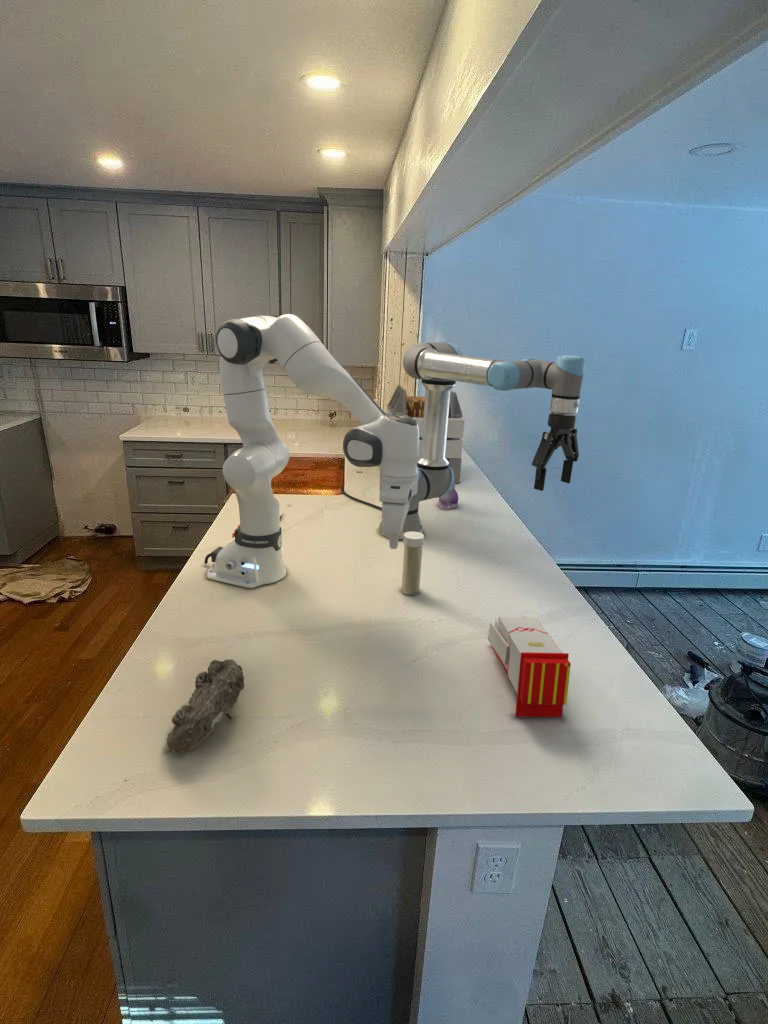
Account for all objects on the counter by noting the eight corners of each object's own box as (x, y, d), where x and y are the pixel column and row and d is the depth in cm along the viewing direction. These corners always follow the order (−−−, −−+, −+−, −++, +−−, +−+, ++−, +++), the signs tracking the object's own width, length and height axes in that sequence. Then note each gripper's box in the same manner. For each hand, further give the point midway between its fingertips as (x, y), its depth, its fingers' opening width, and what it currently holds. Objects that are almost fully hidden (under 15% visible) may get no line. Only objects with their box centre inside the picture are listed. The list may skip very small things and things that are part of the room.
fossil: (192, 660, 117) (244, 628, 112) (224, 691, 120) (276, 661, 115) (142, 746, 98) (202, 712, 93) (182, 779, 101) (242, 748, 96)
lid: (421, 539, 158) (421, 531, 157) (425, 547, 153) (426, 539, 152) (401, 539, 157) (402, 531, 156) (405, 547, 152) (405, 539, 151)
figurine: (444, 511, 224) (448, 474, 219) (431, 503, 232) (433, 468, 227) (464, 508, 228) (468, 472, 223) (450, 500, 237) (453, 466, 231)
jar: (417, 586, 163) (420, 533, 157) (420, 594, 158) (424, 540, 152) (400, 587, 162) (403, 533, 156) (403, 595, 157) (406, 540, 152)
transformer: (382, 463, 289) (386, 382, 275) (445, 464, 293) (451, 384, 279) (390, 482, 257) (394, 392, 243) (460, 483, 261) (468, 394, 247)
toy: (534, 602, 136) (579, 659, 107) (529, 653, 139) (572, 723, 110) (484, 601, 136) (516, 658, 107) (480, 652, 139) (510, 722, 109)
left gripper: (391, 472, 141) (389, 523, 146) (378, 496, 122) (376, 555, 127) (416, 474, 141) (414, 525, 145) (407, 499, 122) (404, 558, 126)
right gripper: (548, 419, 148) (537, 496, 155) (598, 411, 163) (586, 482, 171) (525, 414, 153) (515, 489, 160) (575, 407, 169) (564, 476, 176)
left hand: (396, 540), depth 136 cm, fingers open, 8 cm apart
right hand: (552, 485), depth 166 cm, fingers open, 13 cm apart
